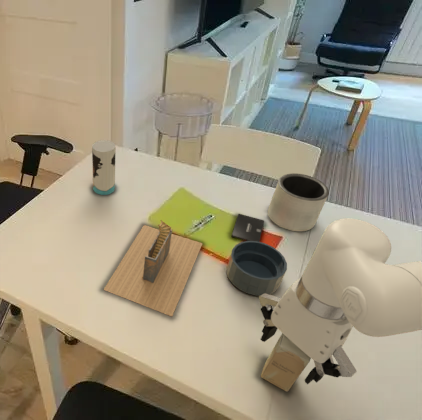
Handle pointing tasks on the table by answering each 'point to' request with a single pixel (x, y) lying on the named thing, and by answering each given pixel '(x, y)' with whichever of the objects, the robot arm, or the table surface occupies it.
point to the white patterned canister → (103, 167)
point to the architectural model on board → (155, 269)
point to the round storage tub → (256, 268)
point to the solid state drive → (247, 228)
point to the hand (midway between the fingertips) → (288, 356)
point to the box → (284, 364)
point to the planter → (297, 202)
